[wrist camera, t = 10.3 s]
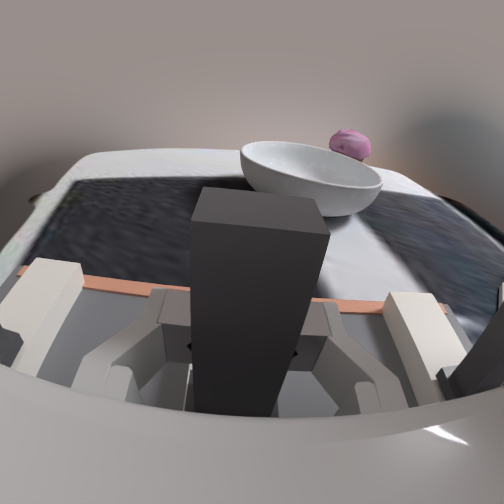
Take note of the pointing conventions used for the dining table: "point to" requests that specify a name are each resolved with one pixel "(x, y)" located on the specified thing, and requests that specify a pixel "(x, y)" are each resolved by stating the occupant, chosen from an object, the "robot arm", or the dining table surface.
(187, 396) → the block
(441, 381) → the block
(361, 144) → the cupcake
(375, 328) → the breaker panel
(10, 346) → the post
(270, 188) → the serving bowl
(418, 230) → the dining table surface
